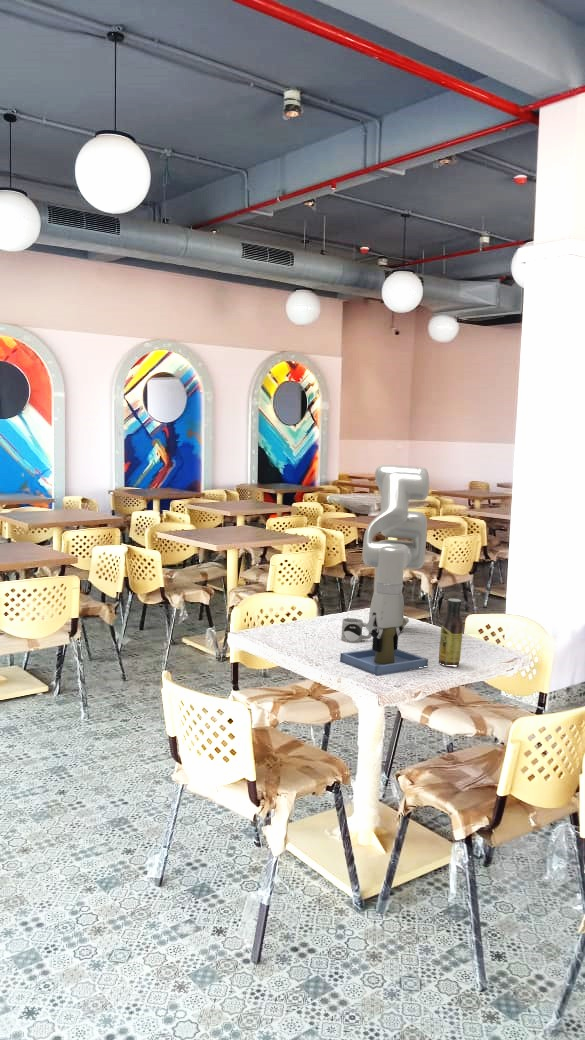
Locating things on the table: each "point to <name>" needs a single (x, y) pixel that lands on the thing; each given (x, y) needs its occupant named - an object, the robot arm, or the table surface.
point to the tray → (366, 663)
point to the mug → (353, 630)
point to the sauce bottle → (451, 634)
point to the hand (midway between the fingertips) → (384, 649)
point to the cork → (386, 647)
